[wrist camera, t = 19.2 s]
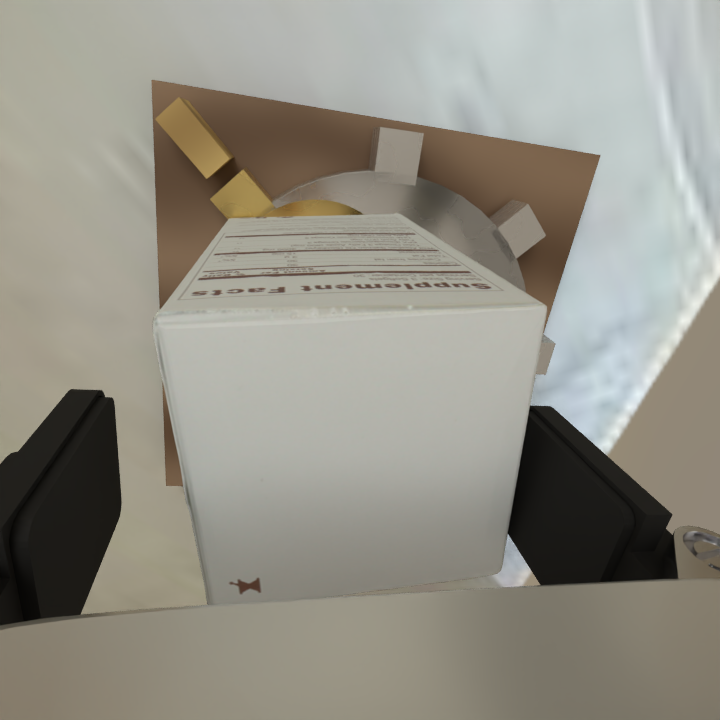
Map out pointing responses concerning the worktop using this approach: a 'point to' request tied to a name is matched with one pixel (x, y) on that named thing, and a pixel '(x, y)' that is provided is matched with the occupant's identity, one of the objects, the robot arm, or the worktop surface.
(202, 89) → the walnut plinth
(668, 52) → the worktop surface
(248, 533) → the supplement box
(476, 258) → the sprocket wheel
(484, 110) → the worktop surface
